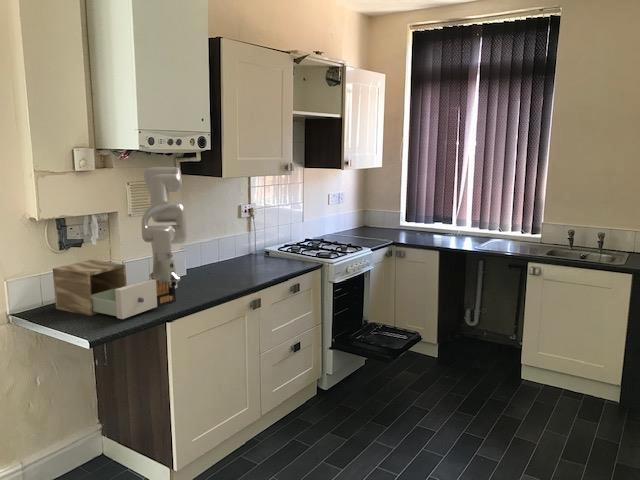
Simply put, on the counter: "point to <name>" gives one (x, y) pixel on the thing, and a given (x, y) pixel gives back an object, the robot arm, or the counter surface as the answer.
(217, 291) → the counter surface
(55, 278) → the cabinet
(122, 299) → the drawer
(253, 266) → the counter surface
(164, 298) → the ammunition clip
